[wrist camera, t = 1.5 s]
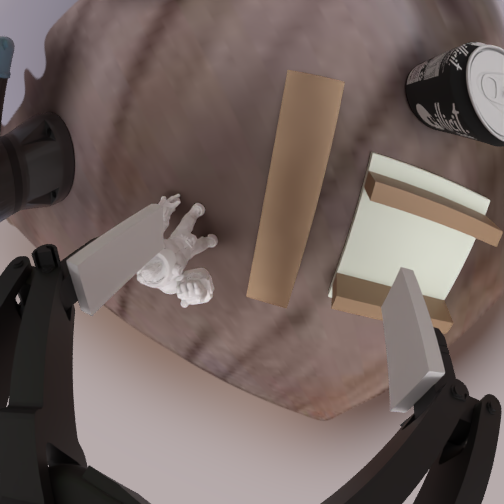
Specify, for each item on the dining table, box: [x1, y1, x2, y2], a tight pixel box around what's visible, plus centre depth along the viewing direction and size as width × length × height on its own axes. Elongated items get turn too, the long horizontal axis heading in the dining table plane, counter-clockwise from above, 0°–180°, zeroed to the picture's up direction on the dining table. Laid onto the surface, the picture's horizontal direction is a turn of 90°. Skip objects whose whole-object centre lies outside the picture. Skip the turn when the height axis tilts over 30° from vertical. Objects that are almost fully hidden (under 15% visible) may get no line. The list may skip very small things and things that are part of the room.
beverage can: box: [406, 42, 504, 146], centre depth 12 cm, size 7×7×12 cm
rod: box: [246, 70, 345, 308], centre depth 23 cm, size 4×20×6 cm, turn 171°
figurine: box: [137, 194, 218, 308], centre depth 25 cm, size 10×5×12 cm, turn 65°
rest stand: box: [328, 151, 503, 334], centre depth 23 cm, size 14×16×5 cm
